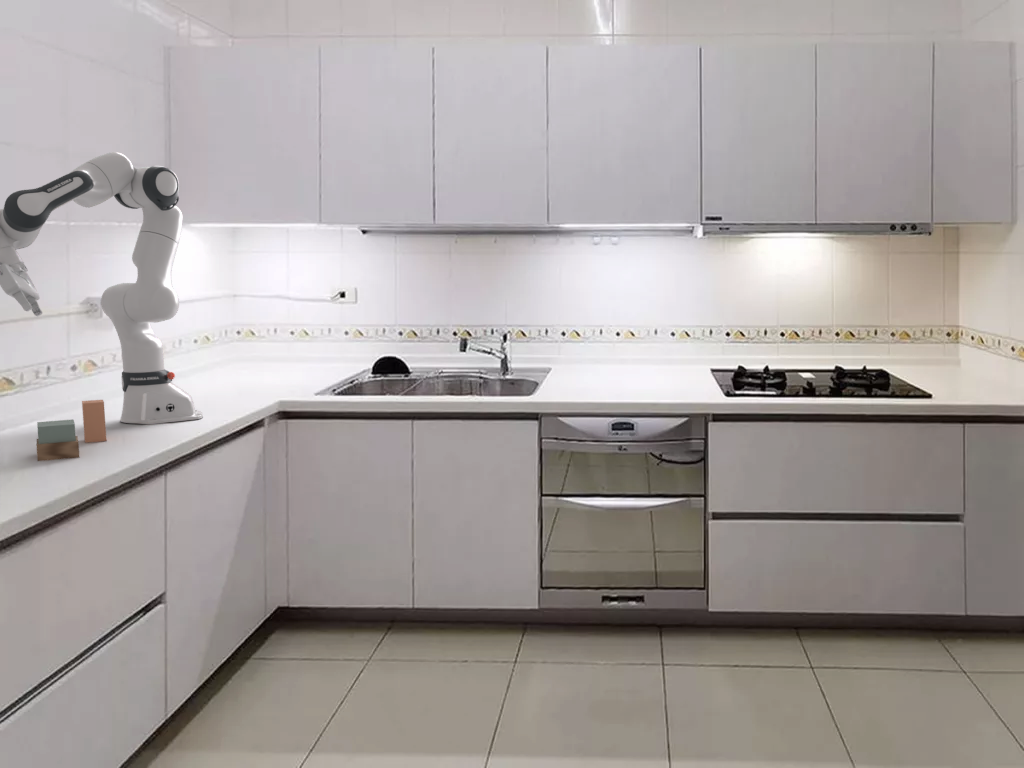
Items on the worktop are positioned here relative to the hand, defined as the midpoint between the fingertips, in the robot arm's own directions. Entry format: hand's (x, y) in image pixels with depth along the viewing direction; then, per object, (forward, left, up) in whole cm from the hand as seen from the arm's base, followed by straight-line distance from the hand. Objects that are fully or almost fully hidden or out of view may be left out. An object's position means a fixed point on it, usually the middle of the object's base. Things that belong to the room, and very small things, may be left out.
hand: (34, 312), depth 264 cm
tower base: (-3, +23, -33) cm, 40 cm away
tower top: (-3, +22, -29) cm, 37 cm away
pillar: (-12, +5, -33) cm, 35 cm away
